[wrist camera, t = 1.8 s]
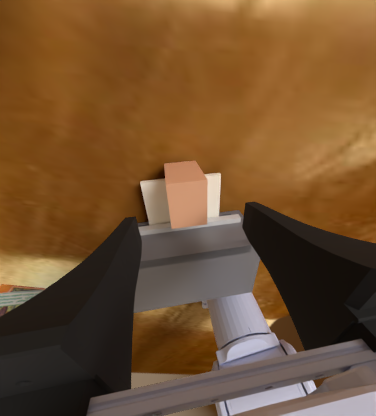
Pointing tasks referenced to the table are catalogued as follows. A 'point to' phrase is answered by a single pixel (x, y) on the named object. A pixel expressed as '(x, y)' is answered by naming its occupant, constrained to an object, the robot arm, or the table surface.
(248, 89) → the table surface
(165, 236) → the dispenser
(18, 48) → the table surface
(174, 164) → the peach block on base
